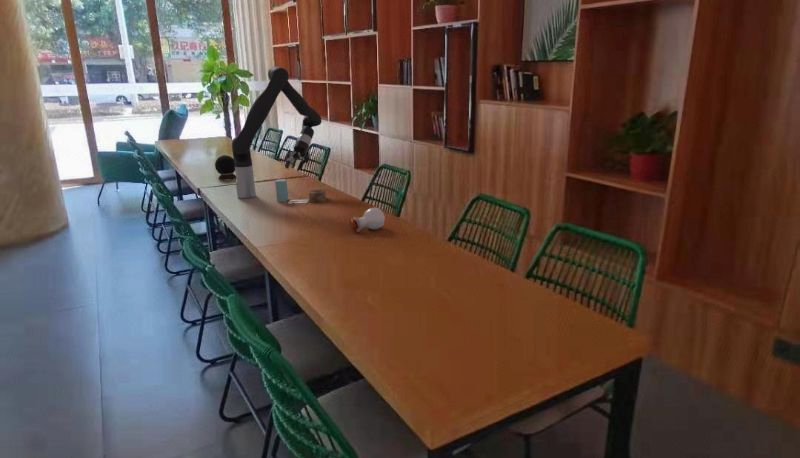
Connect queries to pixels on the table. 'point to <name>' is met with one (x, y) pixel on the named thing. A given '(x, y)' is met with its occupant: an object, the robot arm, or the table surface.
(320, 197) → the walnut base brick
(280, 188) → the teal brick
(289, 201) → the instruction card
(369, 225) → the potion bottle
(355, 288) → the table surface
